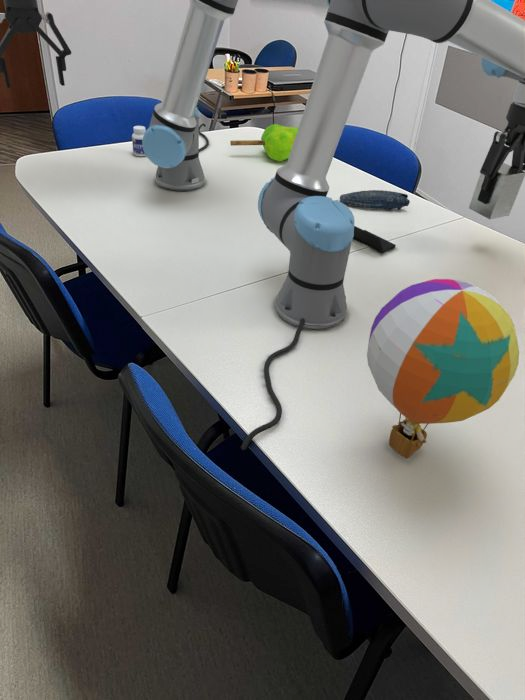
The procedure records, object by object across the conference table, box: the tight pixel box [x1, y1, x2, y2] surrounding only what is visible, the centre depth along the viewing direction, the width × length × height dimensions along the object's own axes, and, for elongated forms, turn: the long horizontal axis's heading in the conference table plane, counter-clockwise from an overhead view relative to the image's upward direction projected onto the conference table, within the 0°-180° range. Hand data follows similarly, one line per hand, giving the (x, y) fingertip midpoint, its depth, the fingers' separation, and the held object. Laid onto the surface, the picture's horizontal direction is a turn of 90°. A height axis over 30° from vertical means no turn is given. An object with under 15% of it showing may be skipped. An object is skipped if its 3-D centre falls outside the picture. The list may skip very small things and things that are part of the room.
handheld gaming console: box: [352, 225, 397, 255], centre depth 137 cm, size 12×7×10 cm
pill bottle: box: [131, 125, 147, 157], centre depth 178 cm, size 5×5×9 cm
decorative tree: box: [229, 123, 299, 163], centre depth 185 cm, size 18×10×30 cm
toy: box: [366, 278, 520, 459], centre depth 74 cm, size 20×20×30 cm
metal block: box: [468, 162, 525, 220], centre depth 132 cm, size 7×7×11 cm
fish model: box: [339, 189, 411, 211], centre depth 158 cm, size 7×21×5 cm, turn 84°
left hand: (35, 85), depth 138 cm, fingers open, 13 cm apart
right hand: (493, 199), depth 134 cm, fingers closed on metal block, 7 cm apart
